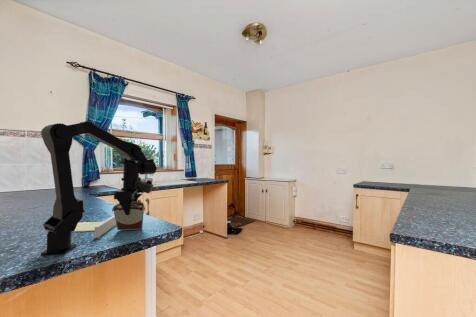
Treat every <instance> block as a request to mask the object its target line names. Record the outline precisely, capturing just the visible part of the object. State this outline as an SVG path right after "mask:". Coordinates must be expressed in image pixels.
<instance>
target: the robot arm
mask: <svg viewBox="0 0 476 317" xmlns="http://www.w3.org/2000/svg"><path fill="white" fill-rule="evenodd" d="M40 132H41V133H40V134H41V138H42V141H43V143H44V146H45V147H46V149H47V150H48V152H49V154H50V160H51V166H52V168H51V169H52V175H53V182H54V189H55V201H54V204H53V208H52V216H50V217H49V218H48V219H47V220H46V221H44V223H43V224H42V225H43V227H44V228H43V229H44V230H45V231H47V234H46V249H45V250H43V251H42V252H40V255H41V256H43V255H63V254H65V253H67V252H69V251H71V250H72V249H73V248H75V247H77V243H72V241H73V240H72V235H73V232H72V231H75V229H76V226H77V224H78V223H80V221H81V220H82V219H83V217H84V216H83V214H84V213H85V212H86V211H85V209H84V200H83V199H82V200H81V199H77V198H76V195H75V191H74V184H73V176H72V167H71V159H70V151H71V147H72V144H73V137H77V136H81V135H85V136H88V137H90V138H92V139H94V140H96V141H97V142H100V143H102V144H103V145H106V146H107V147H109V148H112V149H113V150H115V151H116V152H117V154H119V155H120V156H121V157H122V158H121V159H120V160H119V161H117V164H119V165H123V169H122V170H123V172H122V173H123V176H122V177H121V181H122V187H121V188H120V190H117V191H115V192H114V194H113V200H116V201H117V202H118V204H119V203H120V205H121V207H122V208H123V210H124V212H125V214H126V215H129V213H130V208H131V202H132V201H139V198H141V197H142V196H143V194H145V193H146V194H150V193H151V192H152V190H153V188H154V184H153V181H152V180H150V179H149V180H147V181H142V177H140V175H141V176H143V175H154V174H155V173H156V172H157V167H158V166H157V164H156V163H155V161H154V158H147V157H146V156H145V154H144V152H143V150H142V147H141V146H140V145H139V144H136V143H134V142H130V141H126V140H123V139H121V138H119V137H117V136H116V135H114V134H112V133H111V132H109V131H106V130H105V129H104V128H101V127H99V126H97V125H96V124H95V123H94V122H92V121H90V120H89V121H88V120H87V121H81V122H79V123H72V124H68V125H67V124H65V123H54V124H53V123H52V124H48V125H46V126H44V127H42V129H41V131H40Z"/></svg>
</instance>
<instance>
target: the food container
mask: <svg viewBox="0 0 476 317" xmlns="http://www.w3.org/2000/svg"><path fill="white" fill-rule="evenodd" d="M111 210H112V212H113V214H114V215H115V220H116V225H115V226H116V230H117V231H128V230H130V231H133V230H135V231H136V230H142V229H143V226H144V212H145V211H146V206H145V204H144V202H142V201H139V200H138V201H132V202H131V208H130V213H129V215H126V214H125V212H124V210H123V208H122V207H121V205H120V203H119V202H118V203H116V204H115V205H113V206H112V209H111ZM114 215H113V216H114Z"/></svg>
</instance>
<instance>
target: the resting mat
mask: <svg viewBox="0 0 476 317" xmlns="http://www.w3.org/2000/svg"><path fill="white" fill-rule="evenodd" d="M102 222H103V221H90V222H89V221H87V222H78V224H77V226H76V229H75V231H72V233H81V232H82V233H83V232H84V233H85V232H87V233H89V232H95V227H96V226H97V225H99V224H101V223H102Z"/></svg>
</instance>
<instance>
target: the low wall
mask: <svg viewBox="0 0 476 317" xmlns="http://www.w3.org/2000/svg"><path fill="white" fill-rule="evenodd" d="M101 222H102V223H101V224H99V225H97V226H96V227H95V231H94V239H99V238H100V237H101V236H103V235H104V234H105V233H107V232H108V231H109V230H111V229H113V228H114V227H115V226H117V225H116V220H115V215H112V216H111V217H109V218H107V219H106V220H104V221H101Z"/></svg>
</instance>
